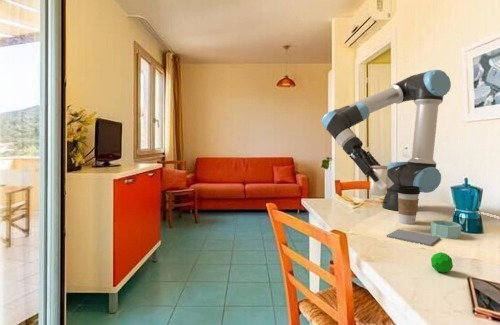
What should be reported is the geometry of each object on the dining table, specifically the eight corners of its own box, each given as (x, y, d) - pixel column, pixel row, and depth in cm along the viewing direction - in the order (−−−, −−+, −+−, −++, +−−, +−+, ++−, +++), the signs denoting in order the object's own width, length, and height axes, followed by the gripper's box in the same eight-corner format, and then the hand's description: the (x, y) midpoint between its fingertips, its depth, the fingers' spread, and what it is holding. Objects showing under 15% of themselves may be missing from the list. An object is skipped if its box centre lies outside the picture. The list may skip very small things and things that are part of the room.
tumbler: (373, 192, 131) (374, 165, 130) (388, 194, 126) (390, 166, 126) (366, 194, 126) (368, 165, 126) (382, 196, 122) (383, 167, 121)
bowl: (434, 230, 124) (435, 219, 124) (462, 235, 118) (463, 223, 117) (427, 235, 117) (428, 223, 117) (456, 241, 111) (457, 228, 111)
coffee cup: (421, 225, 130) (423, 188, 129) (398, 224, 132) (400, 187, 131) (415, 220, 138) (416, 185, 137) (393, 219, 140) (395, 184, 139)
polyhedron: (444, 276, 81) (445, 258, 81) (426, 269, 86) (426, 251, 86) (456, 273, 84) (457, 255, 83) (438, 266, 88) (439, 249, 88)
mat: (398, 230, 123) (398, 229, 123) (440, 238, 113) (440, 237, 113) (386, 236, 115) (386, 235, 115) (430, 246, 105) (430, 244, 105)
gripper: (354, 148, 142) (390, 190, 132) (331, 148, 129) (369, 195, 119) (366, 136, 138) (404, 178, 128) (344, 135, 125) (384, 182, 115)
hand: (387, 186), depth 124 cm, fingers closed on tumbler, 6 cm apart
